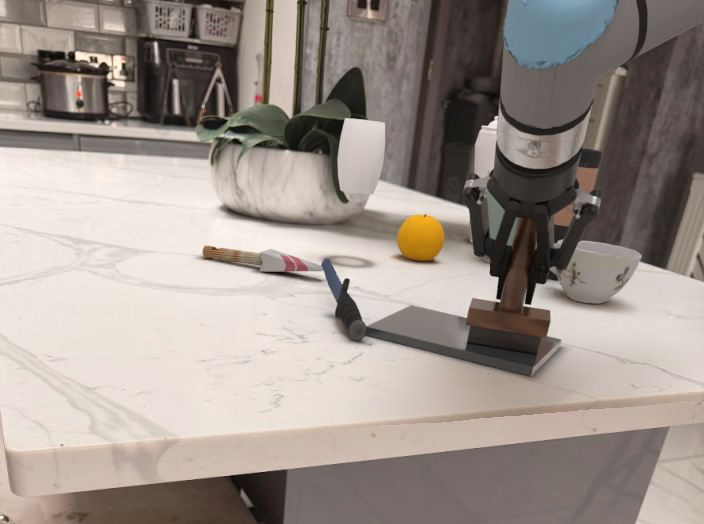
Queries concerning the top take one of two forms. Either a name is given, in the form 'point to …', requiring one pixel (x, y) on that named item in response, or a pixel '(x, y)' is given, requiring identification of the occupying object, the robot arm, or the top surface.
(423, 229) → the orange
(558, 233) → the travel mug
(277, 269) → the paintbrush
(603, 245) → the teacup
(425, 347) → the slate board
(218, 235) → the top surface
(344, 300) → the knife
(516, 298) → the brush
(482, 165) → the spray can
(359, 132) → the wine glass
